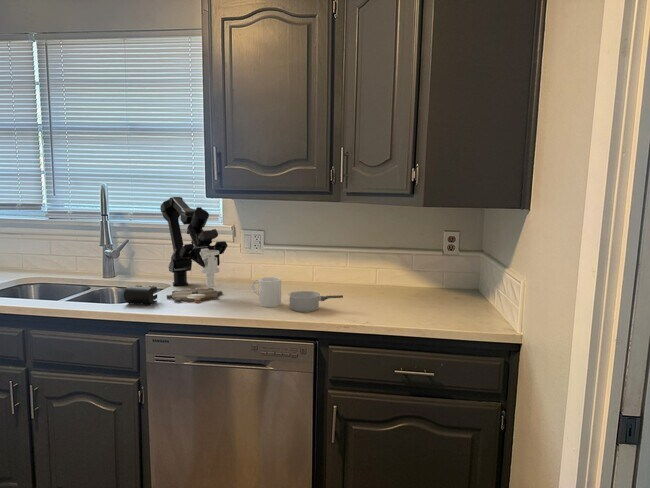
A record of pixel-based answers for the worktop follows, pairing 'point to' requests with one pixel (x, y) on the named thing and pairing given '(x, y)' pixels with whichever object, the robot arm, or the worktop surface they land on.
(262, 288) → the mug
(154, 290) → the end cap
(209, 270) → the light grey tall piece
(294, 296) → the saucepan
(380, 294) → the worktop surface
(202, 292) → the sprocket plate
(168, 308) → the worktop surface
